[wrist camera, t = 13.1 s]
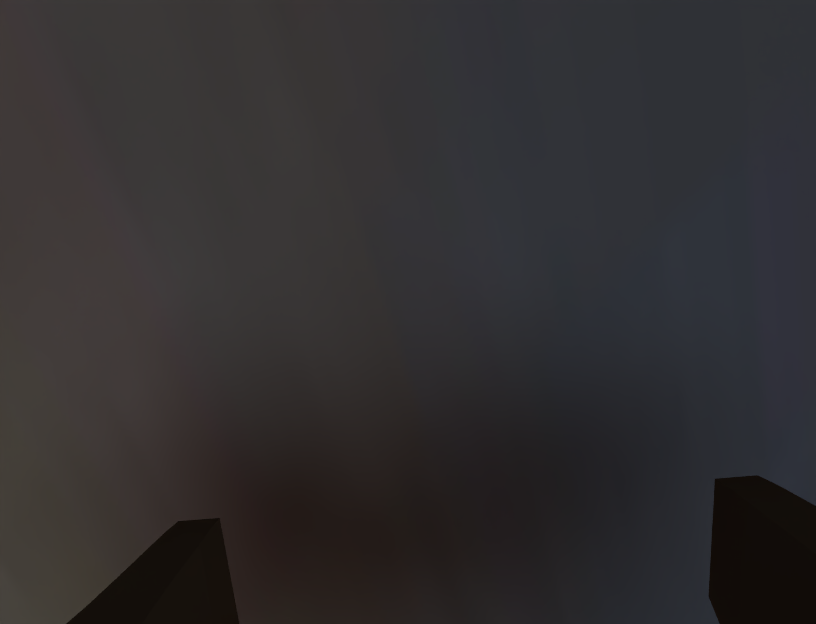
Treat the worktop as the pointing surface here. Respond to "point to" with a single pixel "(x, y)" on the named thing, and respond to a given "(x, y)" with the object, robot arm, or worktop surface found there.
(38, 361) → the worktop surface
